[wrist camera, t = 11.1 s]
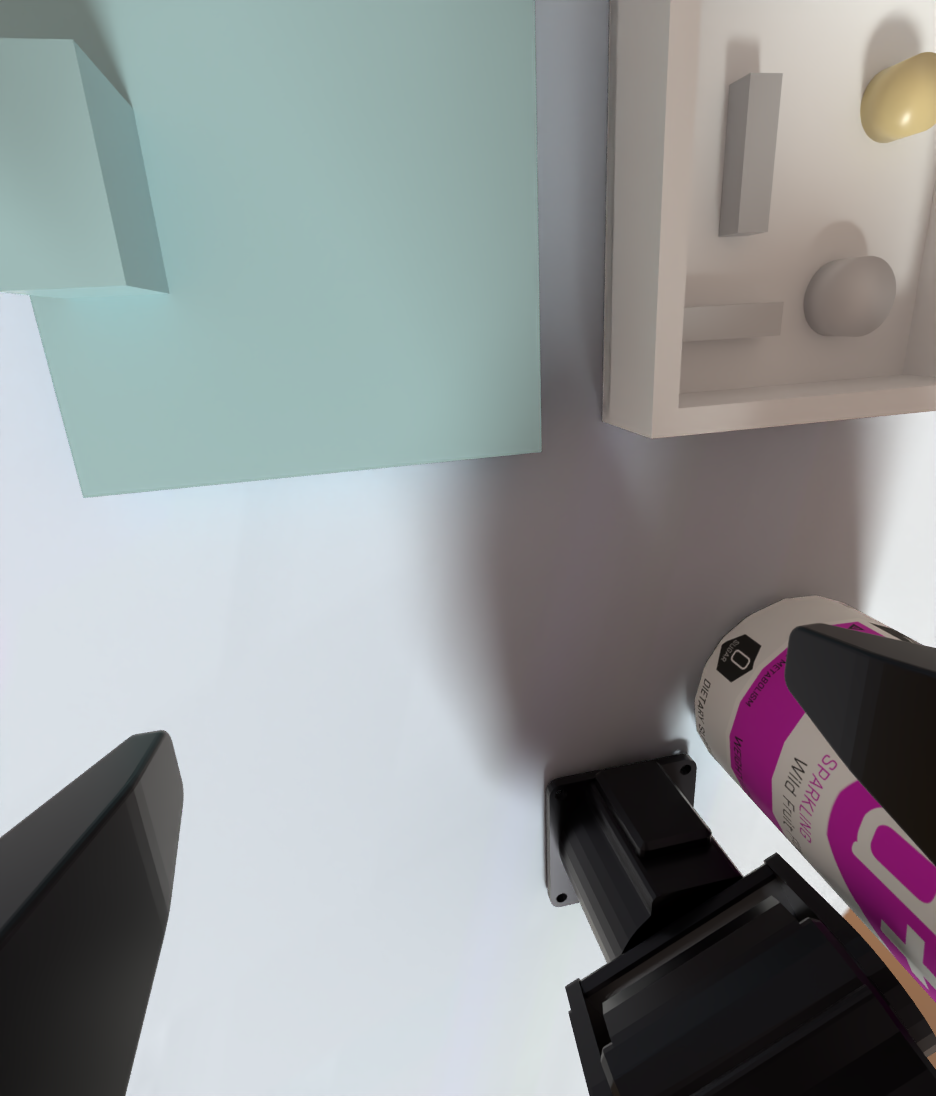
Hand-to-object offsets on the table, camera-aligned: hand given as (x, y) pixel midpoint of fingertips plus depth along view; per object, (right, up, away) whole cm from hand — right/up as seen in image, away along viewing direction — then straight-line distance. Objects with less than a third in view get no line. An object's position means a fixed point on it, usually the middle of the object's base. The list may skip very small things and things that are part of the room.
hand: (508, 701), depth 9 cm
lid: (-5, +11, +8) cm, 15 cm away
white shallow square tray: (+10, +13, +12) cm, 20 cm away
